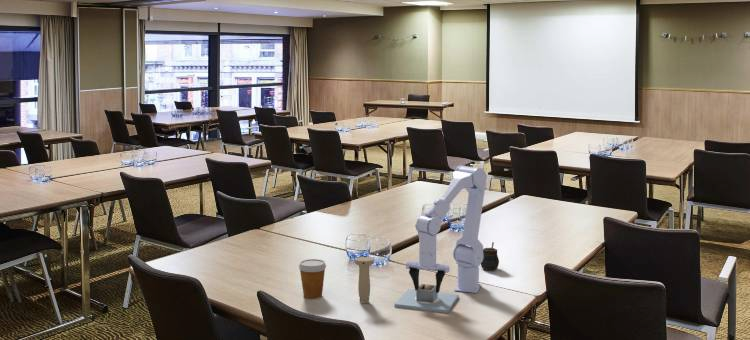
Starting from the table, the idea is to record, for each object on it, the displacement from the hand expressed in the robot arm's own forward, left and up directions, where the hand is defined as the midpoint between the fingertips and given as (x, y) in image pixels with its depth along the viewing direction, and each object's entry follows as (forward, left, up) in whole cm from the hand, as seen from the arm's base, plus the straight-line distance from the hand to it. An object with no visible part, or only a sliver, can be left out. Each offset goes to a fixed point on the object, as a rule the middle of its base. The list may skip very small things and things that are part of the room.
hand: (427, 290), depth 235 cm
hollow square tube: (0, 0, -3) cm, 3 cm away
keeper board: (0, 0, -4) cm, 4 cm away
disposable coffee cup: (+7, -39, -4) cm, 40 cm away
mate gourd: (-45, +13, -4) cm, 47 cm away
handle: (+7, -20, -4) cm, 22 cm away
